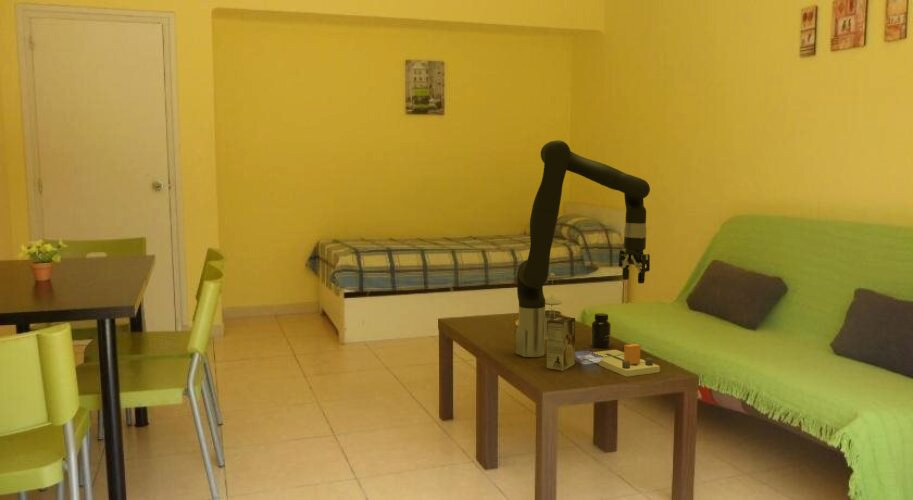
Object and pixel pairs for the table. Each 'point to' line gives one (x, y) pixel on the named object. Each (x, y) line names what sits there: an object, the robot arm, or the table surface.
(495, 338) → the table surface
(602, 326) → the supplement bottle
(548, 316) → the french press
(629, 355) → the fader cap
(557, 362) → the coffee box
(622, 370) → the console
